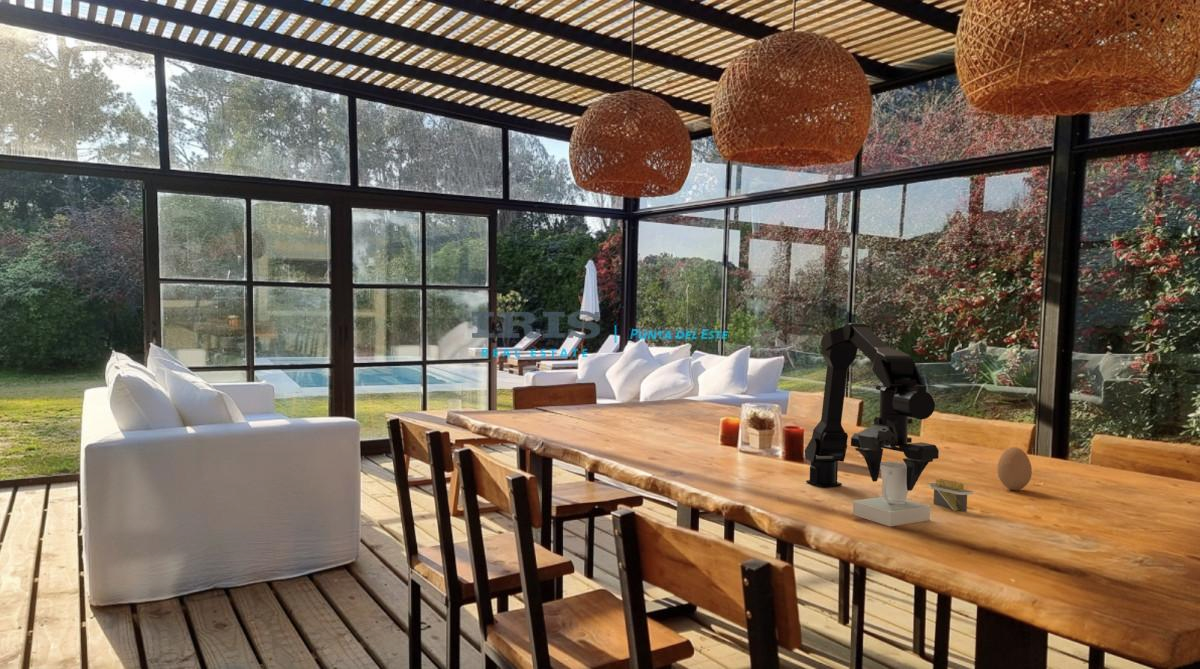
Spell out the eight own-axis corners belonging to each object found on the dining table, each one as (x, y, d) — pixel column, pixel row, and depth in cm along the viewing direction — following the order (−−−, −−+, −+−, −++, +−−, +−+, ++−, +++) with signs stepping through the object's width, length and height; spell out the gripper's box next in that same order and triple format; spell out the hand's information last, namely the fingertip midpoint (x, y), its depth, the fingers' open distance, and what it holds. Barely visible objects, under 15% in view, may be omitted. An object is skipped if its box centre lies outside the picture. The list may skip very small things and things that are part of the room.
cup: (917, 502, 160) (918, 464, 159) (900, 510, 152) (901, 471, 152) (885, 496, 164) (886, 460, 164) (866, 503, 157) (867, 466, 157)
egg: (992, 485, 192) (994, 444, 192) (1024, 487, 190) (1026, 445, 190) (1002, 492, 184) (1003, 448, 184) (1035, 494, 183) (1037, 450, 183)
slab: (891, 508, 166) (892, 495, 166) (929, 520, 157) (930, 505, 157) (852, 514, 160) (852, 500, 160) (889, 526, 151) (890, 511, 151)
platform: (970, 523, 157) (971, 492, 157) (896, 504, 172) (897, 476, 172) (1001, 516, 163) (1002, 486, 163) (927, 498, 178) (928, 471, 178)
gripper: (833, 409, 163) (831, 480, 163) (903, 420, 146) (901, 499, 146) (869, 407, 168) (868, 476, 168) (941, 418, 151) (939, 494, 151)
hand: (891, 485), depth 158 cm, fingers open, 9 cm apart
